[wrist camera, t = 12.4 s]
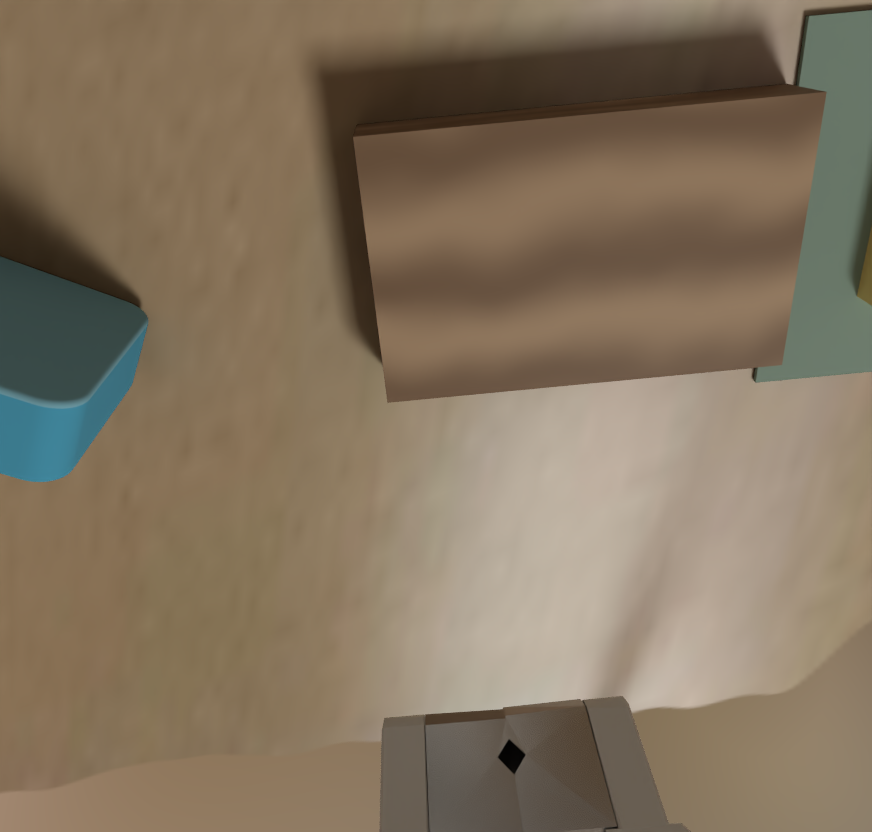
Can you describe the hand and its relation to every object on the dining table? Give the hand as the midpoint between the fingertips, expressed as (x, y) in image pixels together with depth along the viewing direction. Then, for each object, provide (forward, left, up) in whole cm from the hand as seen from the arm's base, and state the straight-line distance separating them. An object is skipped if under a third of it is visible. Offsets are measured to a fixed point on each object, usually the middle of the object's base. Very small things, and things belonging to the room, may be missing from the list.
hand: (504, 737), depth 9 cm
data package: (+5, -22, -34) cm, 41 cm away
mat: (+4, +24, -34) cm, 42 cm away
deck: (+4, +8, -34) cm, 35 cm away
